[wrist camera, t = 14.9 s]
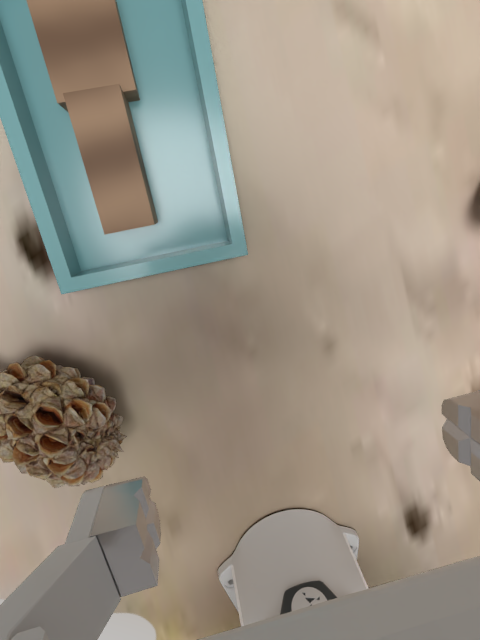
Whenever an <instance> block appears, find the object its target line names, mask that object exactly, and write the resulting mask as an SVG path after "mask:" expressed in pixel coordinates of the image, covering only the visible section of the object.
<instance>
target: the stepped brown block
mask: <svg viewBox="0 0 480 640" xmlns="http://www.w3.org/2000/svg"><path fill="white" fill-rule="evenodd" d="M26 1H27V4H28V7H29V11H30V14H31V17H32V21H33V24H34V27H35V31H36V34H37V37H38V41H39V44H40V47H41V51H42V54H43V57H44V61H45V64H46V67H47V71H48V74H49V77H50V80H51V84H52V87H53V90H54V94H55V97H56V100H57V103H58V104H59V105H60V106H61V107H63V108H64V109H65V110H66V111H67V112H68V113H69V116H70V119H71V123H72V126H73V130H74V133H75V136H76V140H77V143H78V147H79V150H80V153H81V157H82V160H83V163H84V167H85V170H86V174H87V177H88V180H89V184H90V187H91V191H92V194H93V197H94V201H95V204H96V208H97V211H98V214H99V218H100V221H101V224H102V228H103V231H104V235H105V234H110V233H115V232H120V231H125V230H130V229H135V228H140V227H145V226H150V225H155V224H156V223H158V219H157V215H156V211H155V207H154V203H153V199H152V195H151V191H150V187H149V183H148V179H147V175H146V171H145V167H144V163H143V159H142V155H141V151H140V147H139V143H138V139H137V135H136V131H135V127H134V123H133V119H132V115H131V111H130V107H129V103H128V102H133V101H138V100H140V97H139V93H138V89H137V85H136V81H135V76H134V72H133V68H132V64H131V60H130V56H129V51H128V47H127V43H126V39H125V35H124V31H123V26H122V22H121V18H120V14H119V10H118V6H117V1H116V0H26Z"/></svg>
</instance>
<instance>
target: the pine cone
mask: <svg viewBox="0 0 480 640" xmlns="http://www.w3.org/2000/svg"><path fill="white" fill-rule="evenodd" d="M115 408H116V400H115V398H112V397H110V396H107V397H106V391H105V388H104V387H102V386H100V385H95V381H94V378H88V377H82V378H81V374H80V372H79V371H78V369H77V368H71V367H63V366H62V365H57V366H56V365H55V364H54V363H53V362H51V361H50V360H47V361H46V360H44V359H43V358H41V357H37V356H36V355H34V356H31V357H28V358H27V359H26V360H24V361H23V363H22V364H21V365H20V364H19V363H17V362H16V363H12V364H9V366H8V368H7V370H4V371H3V372H0V458H1V459H2V461H3V462H13V461H14V462H15V464H16V466H17V467H18V469H19V470H20V472H21V473H29V475H30V476H33V477H37V478H40V479H43V480H46V479H47V481H48V482H49V483H50V484H51V485H52V486H53V487H54V488H57V487H61V486H63V485H65V484H67V485H68V486H79V485H80V484H83V485H84V484H86V483H87V482H91V483H92V482H95V481H97V480H100V479H101V478H102V477H103V470H107V469H108V467H111V466H112V465H113V464H114V461H115V457H117V458H119V457H118V453H117V452H118V451H122V452H123V450H122V449H121V447H120V444H121V443H122V442H123V441H122V440H123V439H124V438H126V437H127V436H125V435H123V434H121V433H120V431H119V430H118V429H120V425H121V423H122V420H123V417H121V416H120V415H118V414H116V413H113V411H114V410H115Z"/></svg>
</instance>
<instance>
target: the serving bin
mask: <svg viewBox="0 0 480 640" xmlns="http://www.w3.org/2000/svg"><path fill="white" fill-rule="evenodd" d="M116 1H117V6H118V10H119V14H120V18H121V22H122V26H123V31H124V35H125V39H126V43H127V47H128V51H129V56H130V60H131V64H132V68H133V72H134V76H135V81H136V85H137V89H138V93H139V97H140V100H138V101H133V102H128V103H129V107H130V111H131V115H132V119H133V123H134V127H135V131H136V135H137V139H138V143H139V147H140V151H141V155H142V159H143V163H144V167H145V171H146V175H147V179H148V183H149V187H150V191H151V195H152V199H153V203H154V207H155V211H156V215H157V219H158V223H156V224H155V225H150V226H145V227H140V228H135V229H130V230H125V231H120V232H115V233H110V234H105V235H104V231H103V228H102V224H101V221H100V218H99V214H98V211H97V208H96V204H95V201H94V197H93V194H92V191H91V187H90V184H89V180H88V177H87V174H86V170H85V167H84V163H83V160H82V157H81V153H80V150H79V147H78V143H77V140H76V136H75V133H74V130H73V126H72V123H71V119H70V116H69V113H68V112H67V111H66V110H65V109H64V108H63V107H61V106H60V105H59V104H58V103H57V100H56V97H55V94H54V90H53V87H52V84H51V80H50V77H49V74H48V71H47V67H46V64H45V61H44V57H43V54H42V51H41V47H40V44H39V41H38V37H37V34H36V31H35V27H34V24H33V21H32V17H31V14H30V11H29V7H28V4H27V1H26V0H0V118H1V121H2V124H3V126H4V129H5V132H6V135H7V138H8V141H9V144H10V147H11V150H12V152H13V155H14V158H15V161H16V164H17V167H18V170H19V173H20V176H21V178H22V181H23V184H24V187H25V190H26V193H27V196H28V199H29V202H30V205H31V207H32V210H33V213H34V216H35V219H36V222H37V225H38V228H39V231H40V233H41V236H42V239H43V242H44V245H45V248H46V251H47V254H48V257H49V259H50V262H51V265H52V268H53V271H54V274H55V277H56V280H57V283H58V285H59V288H60V291H61V294H65V293H70V292H75V291H79V290H84V289H89V288H93V287H98V286H103V285H108V284H112V283H117V282H122V281H126V280H131V279H136V278H141V277H145V276H150V275H155V274H159V273H164V272H169V271H174V270H178V269H183V268H188V267H192V266H197V265H202V264H207V263H211V262H216V261H221V260H225V259H230V258H235V257H240V256H244V255H248V252H247V246H246V241H245V235H244V229H243V224H242V218H241V213H240V207H239V202H238V196H237V191H236V185H235V180H234V174H233V169H232V163H231V157H230V152H229V146H228V141H227V135H226V130H225V124H224V119H223V113H222V108H221V102H220V97H219V91H218V85H217V80H216V74H215V69H214V63H213V58H212V52H211V47H210V41H209V36H208V30H207V25H206V19H205V13H204V8H203V2H202V0H116Z"/></svg>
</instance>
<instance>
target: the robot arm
mask: <svg viewBox="0 0 480 640" xmlns="http://www.w3.org/2000/svg"><path fill="white" fill-rule="evenodd" d="M442 414H443V415H444V416H445V417H446V418H447V420H446V422H445V424H444V425H443V427H442V434H443V440H444V443H445V445H446V448H447V449H448V451H449V452H450V454H451V455H452V456H453V457H454V458H455V459H456V460H457V461H458V462H460V463H463V464H466V465H469V466H470V468H471V474H472V475H473V476H475V477H476V478H477V479H478V480H479V481H480V390H478V391H476V392H472V393H469V394H465V395H461V396H457V397H453V398H449V399H446V400H444V401H443V403H442ZM150 493H151V488H150V485H149V482H148V480H147V478H146V477H145V476H144V477H140V478H136V479H131V480H127V481H123V482H119V483H114V484H110V485H106V486H102V487H98V488H94V489H90V490H86V491H85V492H84V493H83V494H82V497H81V499H80V502H79V505H78V508H77V511H76V514H75V517H74V519H73V522H72V525H71V528H70V531H69V534H68V536H67V539H66V542H65V544H64V545H60V546H58V547H57V548H56V549H55V550H54V551H53V552H52V553H51V554H50V555H49V556H48V557H47V558H46V559H45V560H44V561H43V562H42V563H41V564H40V565H39V566H38V567H37V568H36V569H35V570H34V571H33V572H32V573H31V574H30V575H29V576H28V577H27V578H26V579H25V581H24V582H23V583H22V584H21V585H20V586H19V587H18V588H17V589H16V590H15V591H14V592H13V593H12V594H11V595H10V596H9V597H8V598H7V599H6V600H5V601H4V602H3V603H2V604H1V605H0V640H97V639H98V638H99V636H100V634H101V632H102V631H103V629H104V627H105V625H106V624H107V622H108V621H109V619H110V617H111V615H112V614H113V612H114V610H115V609H116V607H117V605H118V604H119V602H120V600H121V598H120V597H123V596H126V595H129V594H132V593H135V592H139V591H142V590H145V589H148V588H151V587H154V586H157V585H158V571H159V557H158V554H157V551H156V549H157V547H158V546H159V544H160V539H161V529H160V519H159V514H158V510H157V507H156V503H154V502H153V501H151V500H150ZM358 547H359V538H358V535H357V533H356V531H355V530H353V529H351V528H348V527H344V526H339V525H337V524H335V523H334V522H333V521H331V520H330V519H329V518H328V517H326V516H324V515H323V514H320V513H318V512H315V511H311V510H305V509H293V510H286V511H282V512H278V513H275V514H272V515H270V516H268V517H266V518H264V519H262V520H261V521H259V522H258V523H256V524H255V525H254V526H252V527H251V528H250V529H249V530H248V531H247V532H246V533H245V535H244V536H243V537H242V539H241V540H240V542H239V544H238V546H237V548H236V550H235V551H234V553H233V555H232V556H231V557H230V558H228V559H227V560H226V561H225V562H224V563H223V564H222V565H221V566H220V567H219V569H218V577H219V580H220V582H221V584H222V586H223V587H224V589H225V591H226V593H227V594H228V596H229V598H230V599H231V601H232V603H233V604H234V606H235V608H236V609H237V611H238V613H239V617H240V623H241V627H238V628H234V629H231V630H228V631H224V632H221V633H218V634H214V635H211V636H208V637H204V638H201V639H197V640H480V556H477V557H473V558H470V559H466V560H463V561H460V562H456V563H453V564H450V565H446V566H443V567H439V568H436V569H433V570H429V571H426V572H423V573H419V574H416V575H412V576H409V577H406V578H402V579H399V580H396V581H392V582H389V583H385V584H382V585H379V586H375V587H372V588H368V586H367V583H366V581H365V579H364V576H363V574H362V572H361V570H360V567H359V565H358V563H357V555H358Z"/></svg>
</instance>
